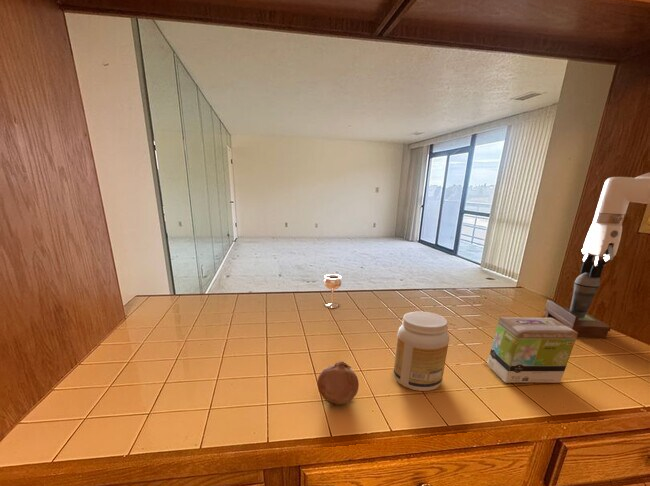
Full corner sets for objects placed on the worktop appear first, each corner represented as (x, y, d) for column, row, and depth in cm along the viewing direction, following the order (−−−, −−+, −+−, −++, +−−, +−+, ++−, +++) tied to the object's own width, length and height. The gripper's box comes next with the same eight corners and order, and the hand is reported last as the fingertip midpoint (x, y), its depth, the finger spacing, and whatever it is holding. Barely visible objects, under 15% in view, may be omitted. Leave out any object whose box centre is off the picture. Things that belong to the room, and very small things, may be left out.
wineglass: (320, 306, 138) (320, 276, 133) (330, 301, 143) (330, 273, 138) (334, 309, 134) (335, 280, 129) (343, 305, 139) (345, 276, 134)
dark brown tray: (575, 318, 131) (581, 300, 129) (607, 338, 115) (614, 318, 112) (542, 316, 132) (547, 299, 129) (569, 336, 116) (576, 317, 113)
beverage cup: (569, 310, 127) (585, 256, 119) (592, 316, 121) (611, 260, 114) (561, 314, 122) (577, 259, 115) (584, 321, 117) (604, 263, 109)
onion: (337, 400, 85) (344, 360, 85) (363, 411, 77) (370, 366, 78) (305, 399, 79) (313, 356, 80) (330, 410, 72) (338, 362, 72)
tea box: (505, 384, 87) (520, 331, 82) (486, 364, 97) (497, 316, 91) (562, 383, 89) (579, 331, 83) (537, 364, 98) (551, 315, 92)
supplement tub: (450, 380, 89) (462, 319, 82) (424, 399, 81) (435, 333, 74) (409, 362, 97) (417, 306, 90) (383, 378, 89) (389, 317, 83)
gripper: (640, 222, 101) (618, 283, 108) (602, 216, 117) (585, 269, 124) (613, 222, 102) (593, 281, 109) (579, 216, 117) (564, 268, 124)
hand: (589, 274), depth 116 cm, fingers closed on beverage cup, 4 cm apart
